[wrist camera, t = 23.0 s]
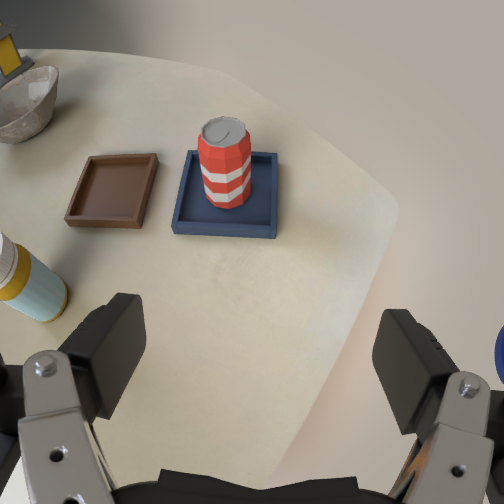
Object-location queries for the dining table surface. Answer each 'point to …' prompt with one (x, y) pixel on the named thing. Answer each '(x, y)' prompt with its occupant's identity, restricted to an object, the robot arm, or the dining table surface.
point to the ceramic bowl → (27, 104)
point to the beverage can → (225, 161)
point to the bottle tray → (113, 191)
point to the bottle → (29, 283)
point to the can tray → (221, 219)
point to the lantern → (10, 56)
